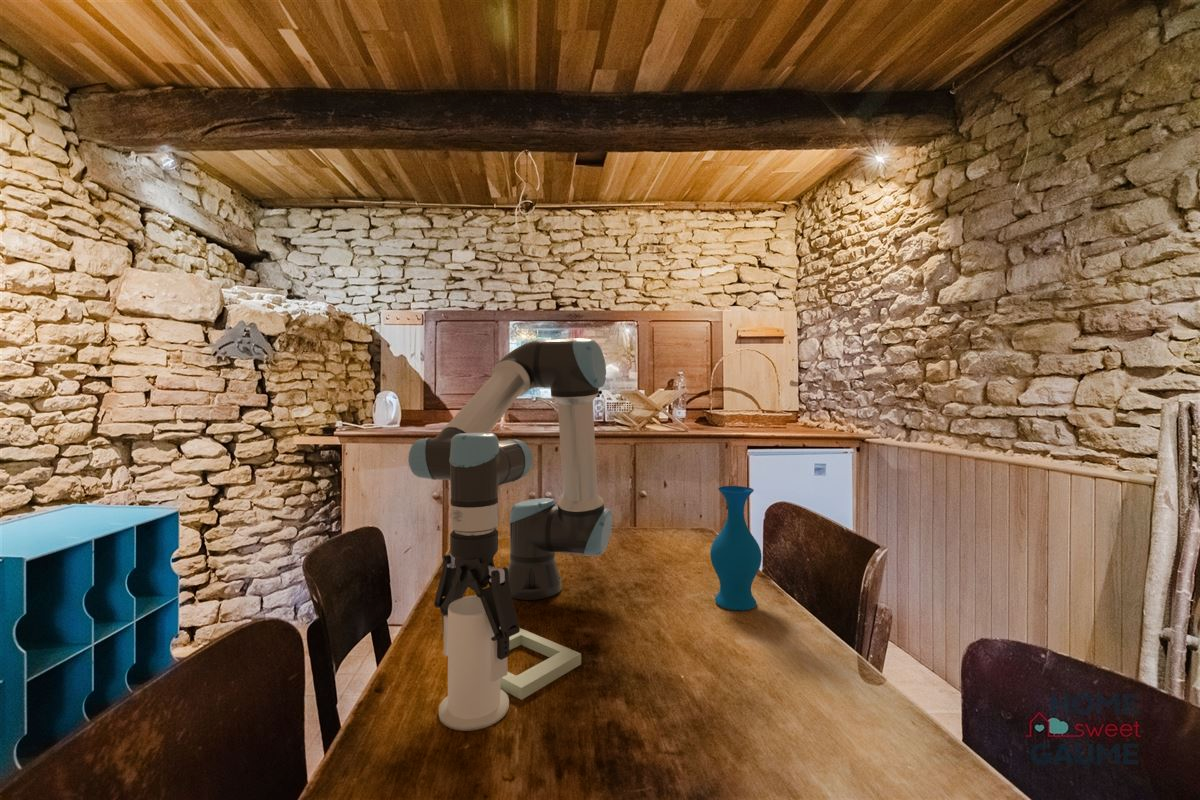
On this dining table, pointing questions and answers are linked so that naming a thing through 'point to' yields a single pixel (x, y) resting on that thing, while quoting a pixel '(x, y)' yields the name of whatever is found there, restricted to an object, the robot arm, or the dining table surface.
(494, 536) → the robot arm
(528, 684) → the pale green rectangular frame
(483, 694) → the cup
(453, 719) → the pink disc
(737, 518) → the vase
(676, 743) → the dining table surface
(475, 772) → the dining table surface
